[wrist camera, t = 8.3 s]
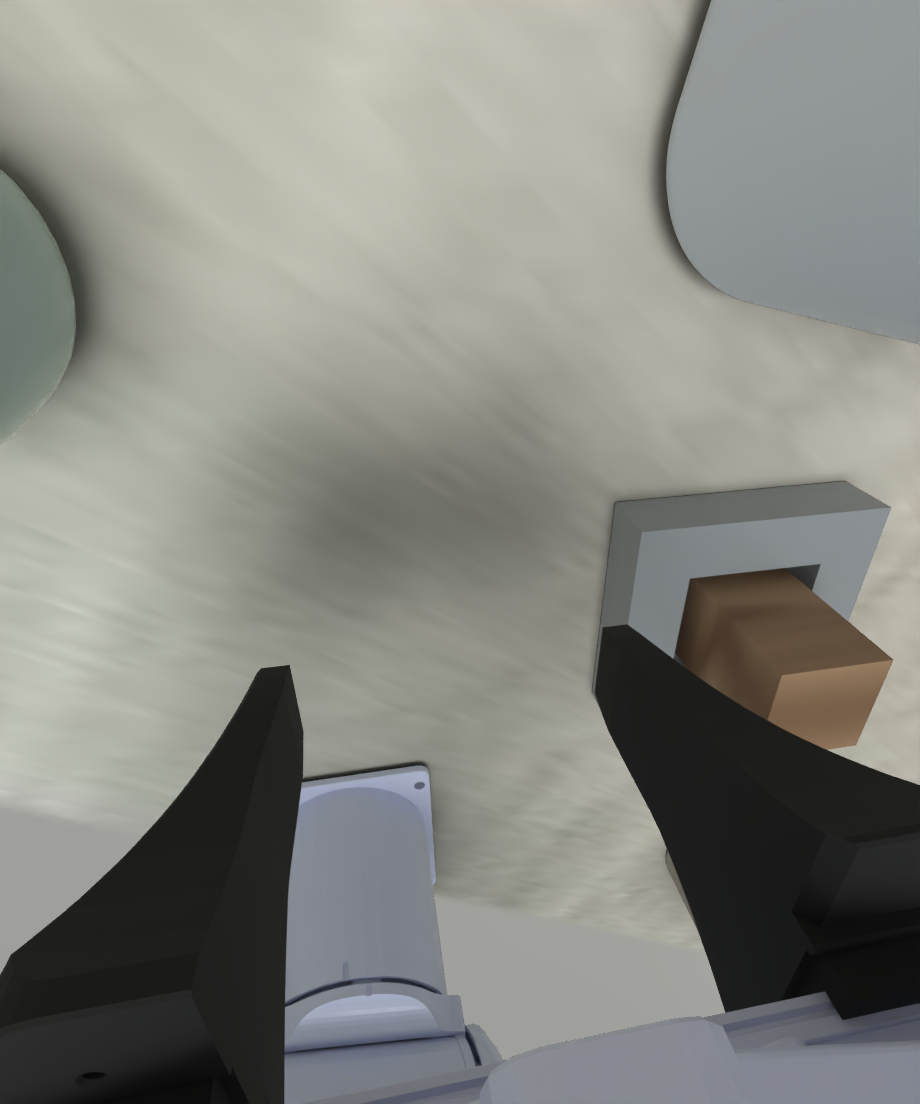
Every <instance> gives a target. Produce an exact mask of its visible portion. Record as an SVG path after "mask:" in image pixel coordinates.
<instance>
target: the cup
mask: <svg viewBox="0 0 920 1104" xmlns="http://www.w3.org/2000/svg"><path fill="white" fill-rule="evenodd" d="M75 335H76V313H75V297H74V293H73V289H72V284H71V280H70V276H69V272H68V269H67V266H66V264H65V261H64V259H63V256H62V254H61V251H60V249H59V246H58V244H57V242H56V240H55V238H54V236H53V235H52V233H51V231H50V229H49V228H48V226H47V224H46V222H45V221H44V219H43V217H42V215H41V214H40V213H39V211H38V210H37V209H36V207H35V206H34V205H33V204H32V202H31V201H30V200H29V199H28V197H27V196H26V195H25V193H24V192H23V191H22V190H21V188H20V187H19V186H18V185H17V184H16V183H15V182H14V181H13V180H12V179H11V178H10V177H9V176H8V175H7V174H6V173H5V172H3V171H2V170H1V169H0V447H1V446H3V445H4V444H5V443H6V442H7V441H8V440H9V439H11V438H12V437H13V436H14V435H15V434H16V433H17V432H18V431H19V430H20V429H21V428H22V427H23V426H24V425H25V424H26V423H27V422H28V421H29V420H30V419H31V418H32V417H33V416H34V415H35V413H36V412H37V411H38V410H39V409H40V408H41V407H42V406H43V405H44V404H45V403H46V402H47V401H48V399H49V398H50V397H51V396H52V394H53V393H54V391H55V390H56V389H57V387H58V385H59V383H60V381H61V379H62V377H63V375H64V373H65V370H66V368H67V366H68V364H69V362H70V359H71V357H72V353H73V347H74V341H75Z"/></svg>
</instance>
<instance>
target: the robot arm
mask: <svg viewBox="0 0 920 1104" xmlns="http://www.w3.org/2000/svg"><path fill="white" fill-rule="evenodd" d="M595 695H596V698H597V701H598V704H599V707H600V710H601V712H602V715H603V718H604V720H605V723H606V726H607V728H608V731H609V733H610V735H611V737H612V739H613V741H614V743H615V745H616V747H617V749H618V750H619V752H620V754H621V756H622V758H623V760H624V762H625V764H626V766H627V768H628V770H629V772H630V773H631V775H632V777H633V779H634V781H635V783H636V785H637V787H638V789H639V791H640V792H641V794H642V796H643V798H644V800H645V802H646V804H647V806H648V808H649V810H650V811H651V813H652V815H653V818H654V820H655V822H656V824H657V826H658V828H659V830H660V833H661V835H662V837H663V840H664V842H665V845H666V847H667V850H668V852H669V855H670V857H671V860H672V862H673V865H674V867H675V870H676V872H677V875H678V877H679V880H680V883H681V885H682V888H683V891H684V893H685V896H686V899H687V901H688V904H689V907H690V909H691V912H692V915H693V917H694V920H695V923H696V926H697V929H698V932H699V935H700V937H701V940H702V943H703V946H704V949H705V952H706V955H707V957H708V960H709V963H710V966H711V969H712V972H713V975H714V978H715V981H716V985H717V988H718V991H719V994H720V997H721V1000H722V1003H723V1006H724V1009H725V1013H722V1014H718V1015H713V1016H708V1017H704V1018H702V1017H699V1016H698V1017H686V1018H674V1019H669V1020H664V1021H660V1022H655V1023H650V1024H646V1025H641V1026H636V1027H631V1028H627V1029H622V1030H617V1031H613V1032H608V1033H603V1034H599V1035H594V1036H589V1037H585V1038H580V1039H575V1040H571V1041H566V1042H561V1043H556V1044H552V1045H547V1046H543V1047H539V1048H536V1049H533V1050H530V1051H527V1052H524V1053H522V1054H518V1055H515V1056H513V1057H511V1058H510V1059H508V1060H503V1059H502V1057H501V1055H500V1053H499V1051H498V1049H497V1048H496V1046H495V1045H494V1044H493V1043H492V1042H491V1040H490V1039H489V1038H488V1036H487V1034H486V1033H485V1031H484V1030H483V1029H482V1028H481V1027H480V1026H479V1025H475V1024H471V1025H466V1026H465V1025H464V1019H463V1012H462V1005H461V998H460V996H459V995H447V991H446V983H445V976H444V968H443V961H442V953H441V946H440V937H439V930H438V923H437V915H436V907H435V900H434V892H433V885H434V884H435V882H436V874H435V859H434V843H433V827H432V811H431V795H430V780H429V771H428V769H427V768H426V767H425V766H411V767H404V768H397V769H391V770H384V771H377V772H370V773H363V774H356V775H350V776H343V777H336V778H329V779H322V780H315V781H308V782H302V778H303V728H302V723H301V718H300V713H299V708H298V703H297V698H296V694H295V689H294V684H293V679H292V674H291V669H290V665H286V666H278V667H269V668H261V669H260V670H259V671H258V672H257V674H256V676H255V678H254V680H253V682H252V684H251V686H250V687H249V689H248V691H247V693H246V695H245V697H244V698H243V700H242V702H241V704H240V706H239V707H238V709H237V711H236V712H235V714H234V716H233V717H232V719H231V721H230V722H229V724H228V725H227V727H226V729H225V730H224V732H223V733H222V735H221V737H220V738H219V740H218V741H217V743H216V744H215V746H214V747H213V749H212V750H211V752H210V753H209V755H208V756H207V757H206V759H205V760H204V762H203V763H202V765H201V766H200V767H199V769H198V770H197V772H196V773H195V774H194V776H193V777H192V779H191V780H190V781H189V783H188V784H187V785H186V786H185V788H184V789H183V790H182V792H181V793H180V794H179V795H178V797H177V798H176V799H175V800H174V802H173V803H172V804H171V805H170V806H169V808H168V809H167V810H166V811H165V812H164V814H163V815H162V816H161V817H160V818H159V819H158V820H157V822H156V823H155V824H154V825H153V826H152V827H151V828H150V829H149V830H148V831H147V833H146V834H145V835H144V836H143V837H142V838H141V839H140V840H139V841H138V842H137V844H136V845H135V846H134V847H133V848H132V849H131V850H130V851H129V852H128V853H127V854H126V855H125V856H124V857H123V858H122V859H121V860H120V861H119V862H118V863H117V864H116V865H115V866H114V867H113V868H112V869H111V870H110V871H109V872H107V874H105V875H104V876H103V877H102V878H101V879H100V880H99V881H98V882H97V883H96V884H95V885H94V886H93V887H92V888H91V889H90V890H88V891H87V892H86V893H85V894H84V895H83V896H82V897H81V898H80V899H79V900H78V901H76V902H75V903H74V904H73V905H72V906H70V907H69V908H68V909H67V910H66V911H65V912H64V913H62V914H61V915H60V916H59V917H57V918H56V919H55V920H54V921H52V922H51V923H50V924H49V925H48V926H46V927H45V928H44V929H43V930H41V931H40V932H39V933H38V934H37V935H35V936H34V937H33V938H32V939H30V940H29V941H28V942H27V943H25V944H24V945H23V946H22V947H20V948H19V949H18V950H17V951H15V952H14V953H13V954H11V956H10V958H9V960H8V962H7V964H6V966H5V967H4V969H3V971H2V973H1V974H0V1104H920V785H918V784H915V783H912V782H909V781H906V780H903V779H900V778H897V777H894V776H890V775H888V774H885V773H882V772H880V771H877V770H874V769H872V768H869V767H867V766H864V765H862V764H859V763H857V762H854V761H851V760H849V759H847V758H844V757H842V756H840V755H837V754H835V753H833V752H830V751H828V750H826V749H824V748H821V747H819V746H817V745H815V744H813V743H811V742H809V741H807V740H804V739H802V738H800V737H798V736H796V735H794V734H792V733H790V732H788V731H786V730H784V729H782V728H780V727H778V726H777V725H775V724H773V723H771V722H769V721H768V720H766V719H764V718H762V717H760V716H759V715H757V714H755V713H753V712H751V711H750V710H748V709H746V708H745V707H743V706H741V705H740V704H738V703H737V702H735V701H733V700H732V699H730V698H729V697H727V696H726V695H724V694H723V693H721V692H720V691H718V690H716V689H715V688H713V687H712V686H711V685H709V684H708V683H706V682H705V681H703V680H702V679H700V678H699V677H698V676H696V675H695V674H693V673H692V672H691V671H689V670H688V669H686V668H685V667H684V666H682V665H681V664H680V663H678V662H677V661H676V660H674V659H673V658H671V657H670V656H669V655H668V654H666V653H665V652H664V651H662V650H661V649H660V648H658V647H657V646H656V645H654V644H653V643H652V642H650V641H649V640H648V639H647V638H645V637H644V636H643V635H641V634H640V633H639V632H637V631H636V630H635V629H633V628H632V627H630V626H629V625H628V624H626V625H617V626H609V627H603V629H602V637H601V645H600V653H599V661H598V669H597V676H596V684H595ZM417 782H419V783H417Z"/></svg>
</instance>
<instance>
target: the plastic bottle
mask: <svg viewBox="0 0 920 1104" xmlns="http://www.w3.org/2000/svg"><path fill="white" fill-rule="evenodd" d="M666 184H667V197H668V205H669V211H670V215H671V220H672V224H673V227H674V230H675V233H676V236H677V238H678V241H679V243H680V245H681V247H682V249H683V251H684V253H685V254H686V256H687V258H688V259H689V261H690V262H691V263H692V265H693V266H694V267H695V269H696V270H697V271H698V272H699V273H700V274H701V275H702V276H703V277H704V278H705V279H706V280H707V281H709V282H710V283H711V284H712V285H713V286H714V287H716V288H717V289H719V290H721V291H722V292H724V293H725V294H728V295H730V296H732V297H734V298H736V299H739V300H743V301H746V302H749V303H753V304H757V305H761V306H765V307H769V308H773V309H777V310H782V311H786V312H790V313H794V314H798V315H802V316H806V317H810V318H814V319H818V320H822V321H826V322H830V323H834V324H838V325H842V326H846V327H851V328H855V329H859V330H863V331H867V332H871V333H875V334H879V335H883V336H887V337H891V338H895V339H899V340H903V341H907V342H911V343H916V344H920V0H711V3H710V6H709V9H708V12H707V15H706V18H705V22H704V25H703V28H702V31H701V34H700V37H699V41H698V44H697V47H696V50H695V53H694V56H693V59H692V63H691V66H690V69H689V72H688V75H687V78H686V82H685V85H684V88H683V91H682V94H681V97H680V100H679V104H678V107H677V110H676V114H675V117H674V121H673V125H672V129H671V134H670V139H669V146H668V154H667V167H666Z"/></svg>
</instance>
